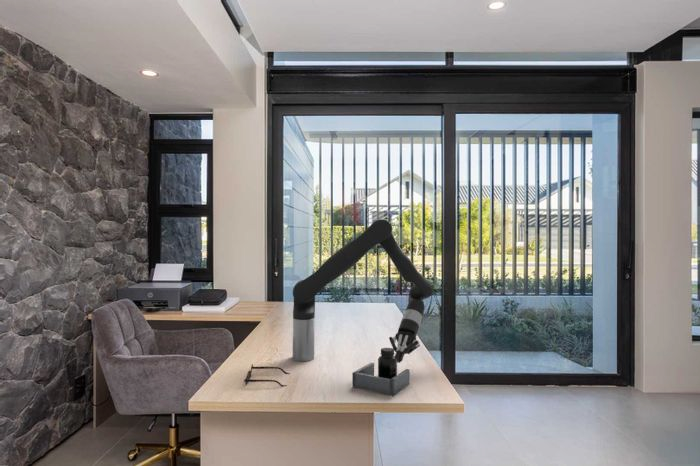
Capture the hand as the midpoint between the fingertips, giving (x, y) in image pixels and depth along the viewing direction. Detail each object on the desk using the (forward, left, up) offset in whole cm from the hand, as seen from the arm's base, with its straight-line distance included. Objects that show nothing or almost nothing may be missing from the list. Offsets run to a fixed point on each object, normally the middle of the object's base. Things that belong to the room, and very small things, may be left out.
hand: (397, 361), depth 161 cm
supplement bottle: (-6, -8, -5) cm, 11 cm away
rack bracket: (-8, -9, -5) cm, 14 cm away
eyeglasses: (-48, +1, -6) cm, 48 cm away
